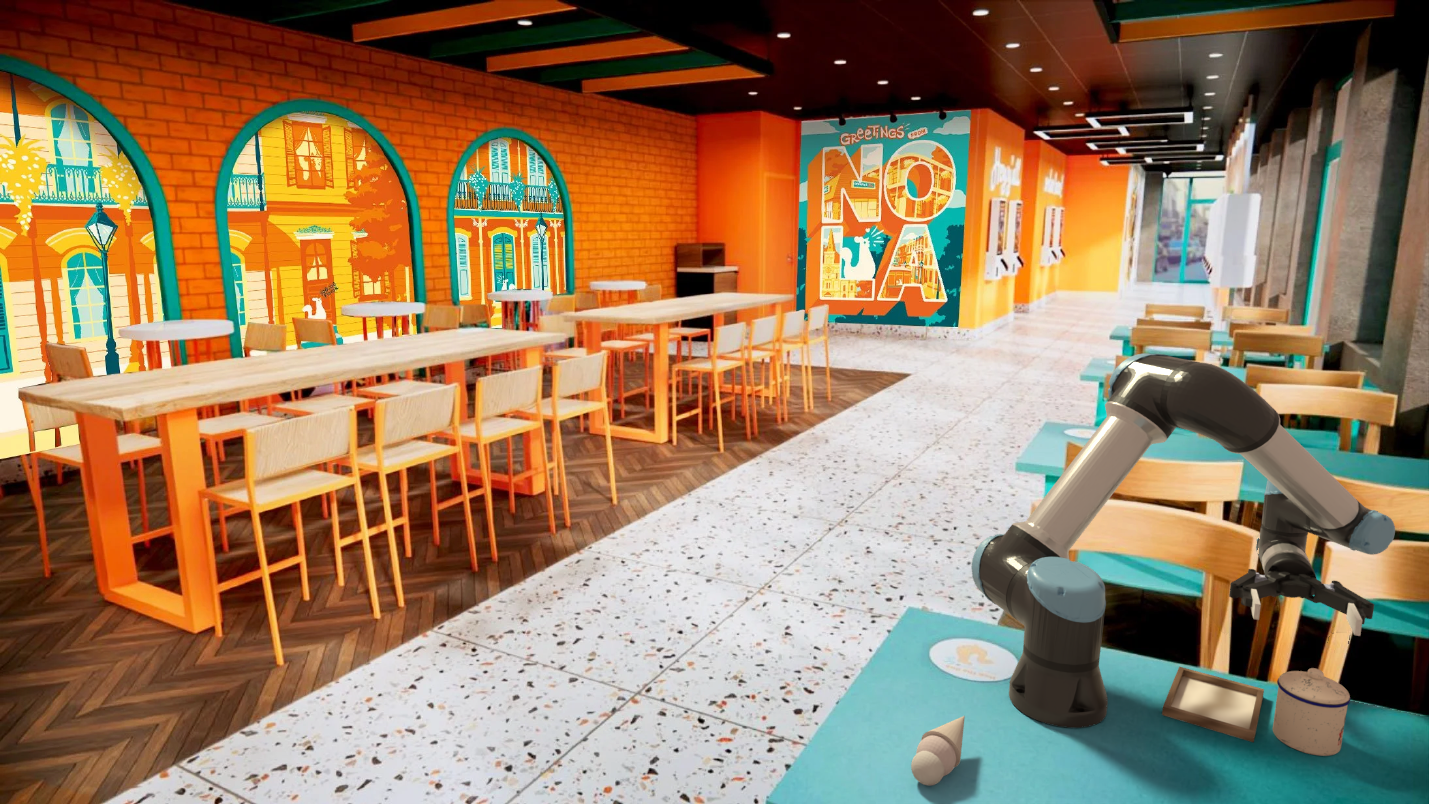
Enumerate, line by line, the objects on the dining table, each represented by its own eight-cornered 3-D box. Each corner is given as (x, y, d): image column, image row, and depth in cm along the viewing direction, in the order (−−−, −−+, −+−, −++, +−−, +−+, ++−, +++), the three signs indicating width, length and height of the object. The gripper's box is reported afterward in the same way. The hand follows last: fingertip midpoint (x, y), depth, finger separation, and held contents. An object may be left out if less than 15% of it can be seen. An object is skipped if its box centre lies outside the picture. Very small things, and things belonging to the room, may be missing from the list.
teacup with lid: (1355, 761, 124) (1366, 689, 121) (1286, 754, 125) (1296, 683, 123) (1314, 715, 135) (1324, 649, 133) (1252, 710, 137) (1261, 644, 135)
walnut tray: (1161, 714, 136) (1162, 706, 135) (1178, 674, 148) (1179, 666, 148) (1253, 742, 128) (1254, 733, 128) (1263, 697, 141) (1264, 689, 140)
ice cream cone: (968, 739, 130) (924, 803, 119) (938, 708, 131) (892, 768, 121) (992, 723, 126) (949, 788, 115) (961, 691, 127) (916, 752, 117)
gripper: (1369, 602, 150) (1400, 656, 131) (1208, 578, 161) (1215, 626, 142) (1375, 562, 148) (1407, 612, 130) (1211, 541, 159) (1219, 584, 141)
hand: (1306, 619), depth 136 cm, fingers open, 13 cm apart
